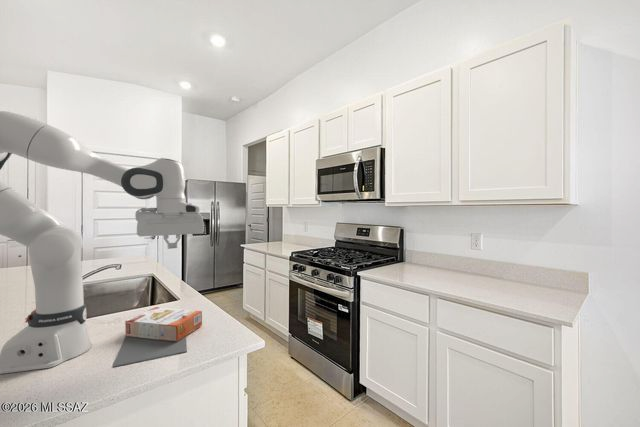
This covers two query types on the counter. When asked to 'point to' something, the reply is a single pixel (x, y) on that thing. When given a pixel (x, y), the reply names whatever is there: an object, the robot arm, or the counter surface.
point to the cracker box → (163, 324)
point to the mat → (147, 349)
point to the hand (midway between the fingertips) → (172, 248)
